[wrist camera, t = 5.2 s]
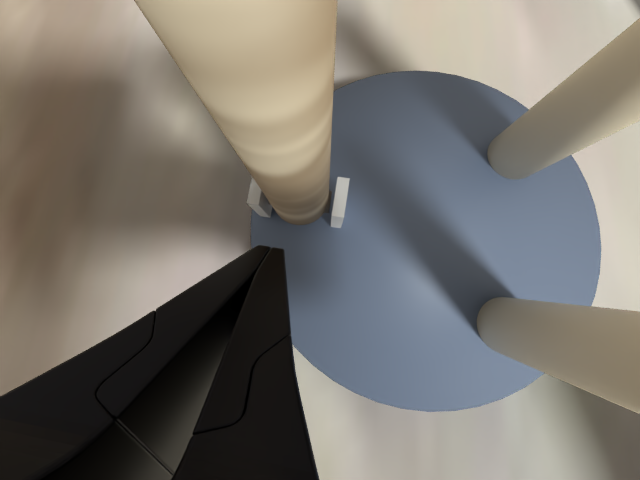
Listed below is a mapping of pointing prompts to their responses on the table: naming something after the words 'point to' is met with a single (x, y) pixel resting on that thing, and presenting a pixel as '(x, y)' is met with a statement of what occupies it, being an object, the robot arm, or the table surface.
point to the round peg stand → (461, 240)
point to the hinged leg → (263, 87)
